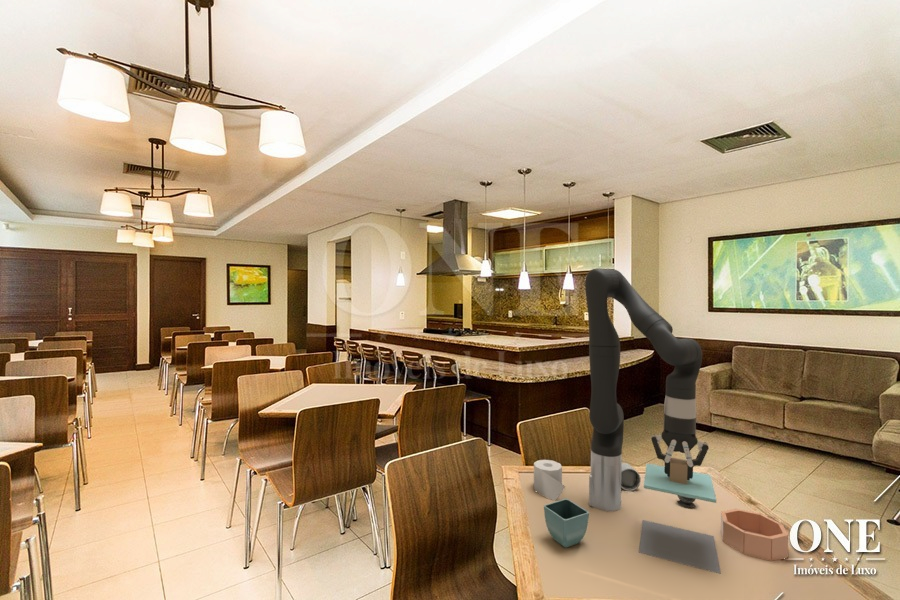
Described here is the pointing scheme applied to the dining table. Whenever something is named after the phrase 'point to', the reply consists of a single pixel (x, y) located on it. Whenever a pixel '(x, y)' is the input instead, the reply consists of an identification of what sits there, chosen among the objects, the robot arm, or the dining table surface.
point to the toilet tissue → (548, 478)
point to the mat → (679, 546)
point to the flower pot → (566, 522)
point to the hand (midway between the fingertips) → (678, 477)
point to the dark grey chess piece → (686, 502)
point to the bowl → (754, 534)
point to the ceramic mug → (629, 477)
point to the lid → (679, 481)
